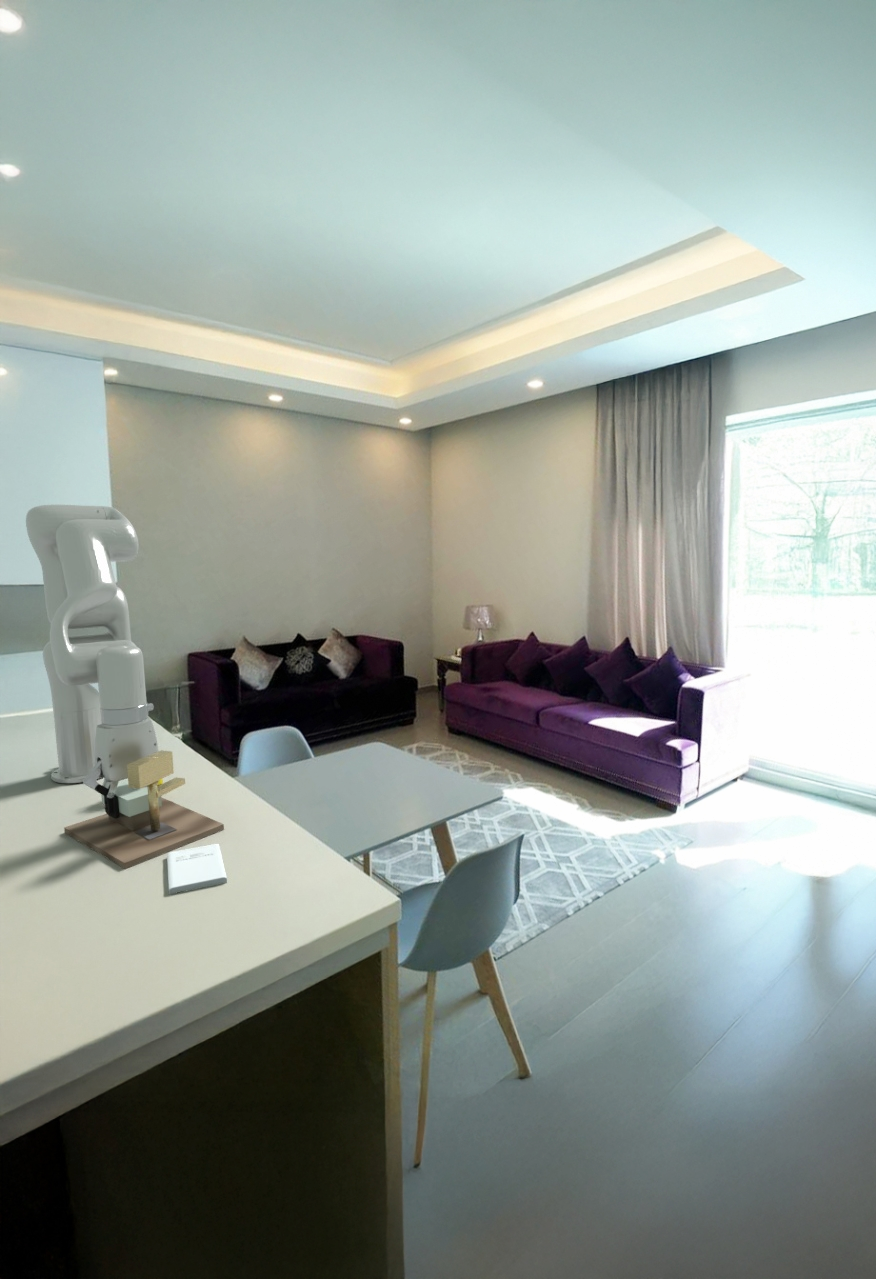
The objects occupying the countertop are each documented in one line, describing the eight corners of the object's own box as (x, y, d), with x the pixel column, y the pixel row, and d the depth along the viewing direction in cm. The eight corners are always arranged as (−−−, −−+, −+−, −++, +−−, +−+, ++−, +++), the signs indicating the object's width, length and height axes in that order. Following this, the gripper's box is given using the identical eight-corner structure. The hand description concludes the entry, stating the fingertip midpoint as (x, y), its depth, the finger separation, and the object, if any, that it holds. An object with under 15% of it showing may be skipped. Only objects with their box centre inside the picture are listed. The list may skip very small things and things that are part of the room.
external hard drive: (169, 898, 94) (167, 861, 106) (227, 886, 98) (219, 851, 109) (168, 888, 94) (166, 851, 105) (226, 876, 97) (219, 842, 109)
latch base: (64, 832, 115) (62, 811, 115) (159, 801, 129) (158, 782, 129) (125, 869, 102) (123, 845, 101) (223, 829, 116) (222, 808, 115)
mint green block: (102, 803, 118) (100, 787, 118) (134, 793, 123) (132, 778, 122) (129, 816, 112) (127, 800, 112) (161, 805, 117) (160, 790, 116)
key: (177, 812, 120) (173, 745, 118) (188, 813, 119) (183, 746, 117) (132, 837, 110) (126, 764, 108) (144, 839, 109) (138, 766, 107)
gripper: (159, 702, 124) (165, 791, 127) (63, 722, 111) (73, 821, 113) (180, 708, 120) (186, 800, 122) (83, 729, 106) (93, 832, 109)
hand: (132, 809), depth 118 cm, fingers open, 6 cm apart
